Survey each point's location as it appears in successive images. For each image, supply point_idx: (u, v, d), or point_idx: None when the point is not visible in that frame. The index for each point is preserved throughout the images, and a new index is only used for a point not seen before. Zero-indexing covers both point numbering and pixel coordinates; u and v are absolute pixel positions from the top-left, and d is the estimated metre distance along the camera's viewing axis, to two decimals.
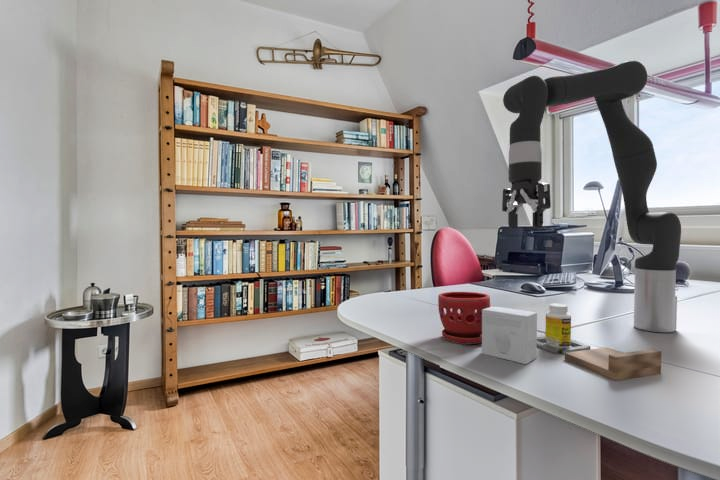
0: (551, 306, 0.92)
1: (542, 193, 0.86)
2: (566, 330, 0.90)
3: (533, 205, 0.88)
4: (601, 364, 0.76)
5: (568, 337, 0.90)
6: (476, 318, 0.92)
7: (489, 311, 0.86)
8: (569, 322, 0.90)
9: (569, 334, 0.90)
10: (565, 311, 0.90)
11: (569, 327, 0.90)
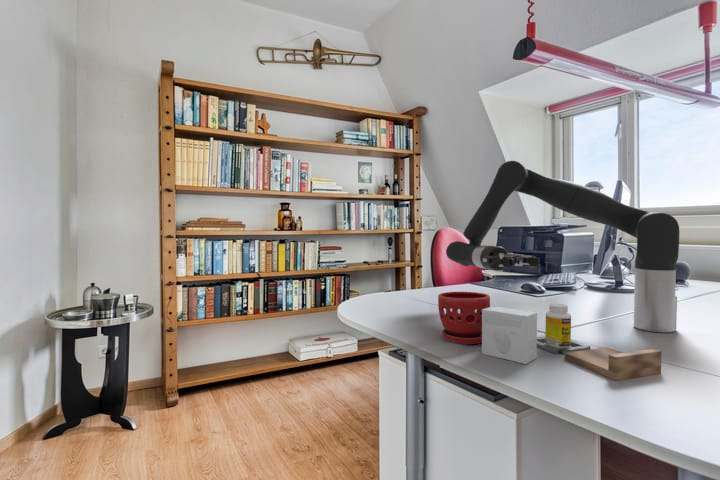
0: (551, 306, 0.92)
1: (486, 263, 1.08)
2: (566, 330, 0.90)
3: None
4: (601, 364, 0.76)
5: (568, 337, 0.90)
6: (476, 318, 0.92)
7: (489, 311, 0.86)
8: (569, 322, 0.90)
9: (569, 334, 0.90)
10: (565, 311, 0.90)
11: (568, 327, 0.90)
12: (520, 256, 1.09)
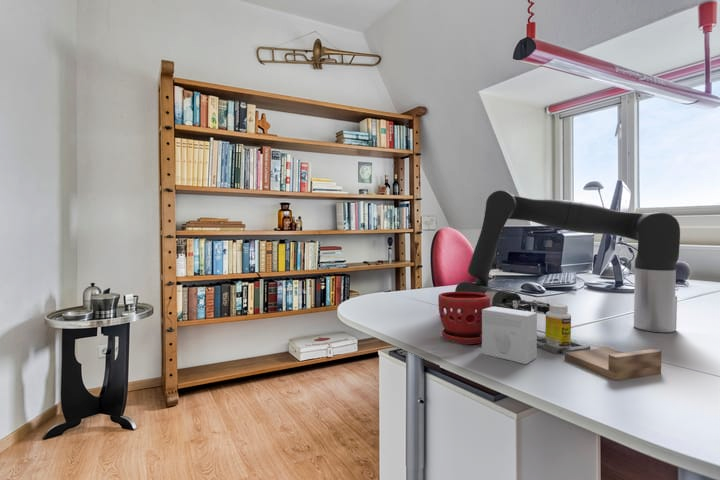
0: (551, 306, 0.92)
1: None
2: (566, 330, 0.90)
3: None
4: (601, 364, 0.76)
5: (568, 337, 0.90)
6: (476, 318, 0.92)
7: (489, 311, 0.86)
8: (569, 322, 0.90)
9: (569, 334, 0.90)
10: (565, 311, 0.90)
11: (568, 327, 0.90)
12: (535, 304, 1.04)
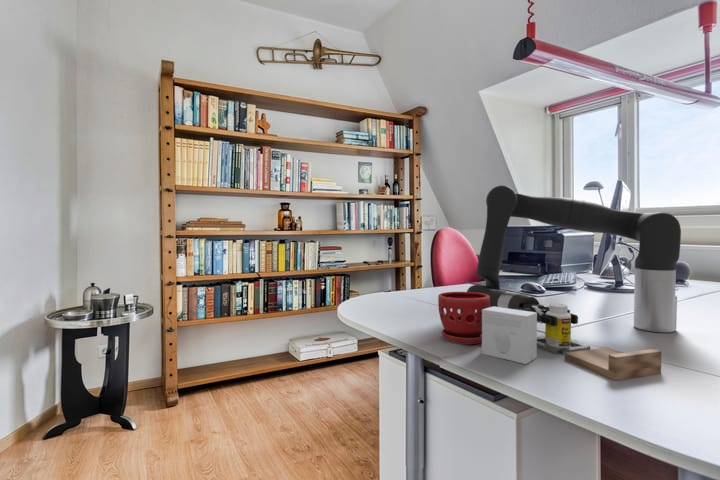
0: (551, 306, 0.92)
1: None
2: (566, 330, 0.90)
3: None
4: (601, 364, 0.76)
5: (568, 337, 0.90)
6: (476, 318, 0.92)
7: (489, 311, 0.86)
8: (569, 322, 0.90)
9: (569, 334, 0.90)
10: (565, 311, 0.90)
11: (568, 326, 0.90)
12: None
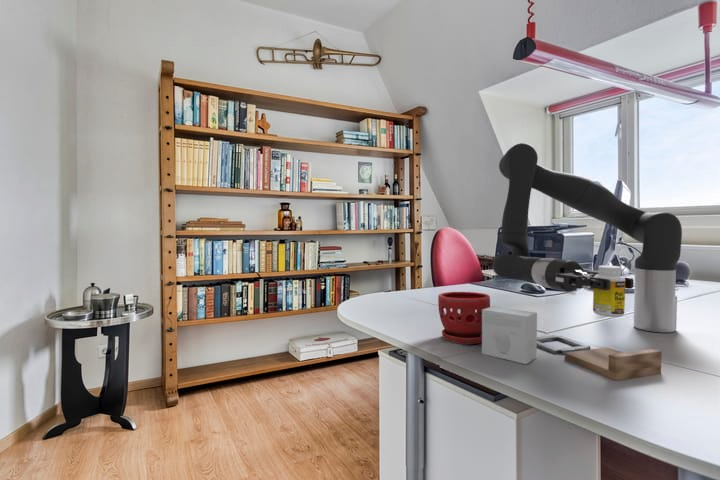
0: (602, 267, 0.78)
1: (564, 284, 0.82)
2: (620, 295, 0.76)
3: (584, 286, 0.81)
4: (601, 364, 0.76)
5: (622, 303, 0.77)
6: (476, 318, 0.92)
7: (489, 311, 0.86)
8: (623, 286, 0.76)
9: (623, 300, 0.77)
10: (619, 273, 0.77)
11: (623, 291, 0.76)
12: None
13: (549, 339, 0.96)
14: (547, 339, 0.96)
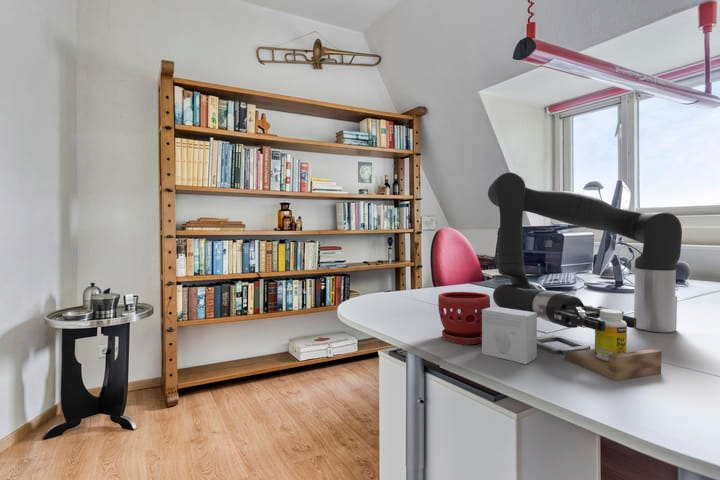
0: (603, 312, 0.78)
1: (561, 322, 0.83)
2: (622, 341, 0.76)
3: None
4: (601, 364, 0.76)
5: (624, 349, 0.77)
6: (476, 318, 0.92)
7: (489, 311, 0.86)
8: (625, 331, 0.77)
9: (625, 345, 0.77)
10: (620, 318, 0.77)
11: (625, 336, 0.77)
12: None
13: (549, 339, 0.96)
14: (547, 339, 0.96)
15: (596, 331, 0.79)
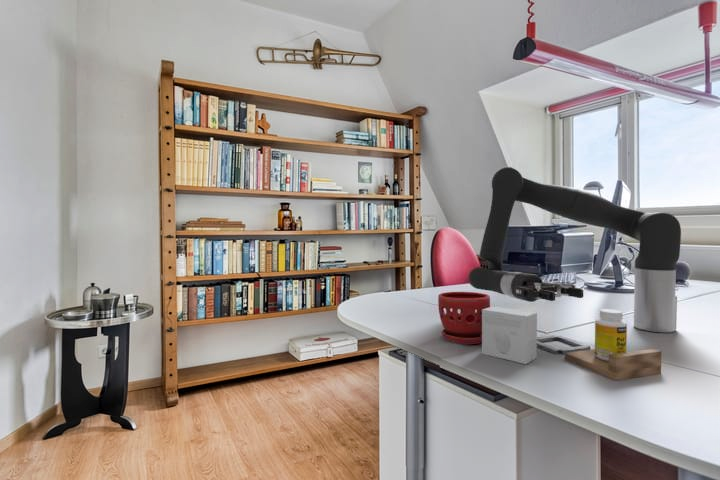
0: (603, 312, 0.78)
1: (521, 296, 0.96)
2: (622, 341, 0.76)
3: None
4: (601, 364, 0.76)
5: (624, 349, 0.77)
6: (476, 318, 0.92)
7: (489, 311, 0.86)
8: (625, 331, 0.77)
9: (625, 345, 0.77)
10: (620, 318, 0.77)
11: (625, 336, 0.77)
12: (558, 286, 0.96)
13: (549, 339, 0.96)
14: (547, 339, 0.96)
15: (596, 331, 0.79)
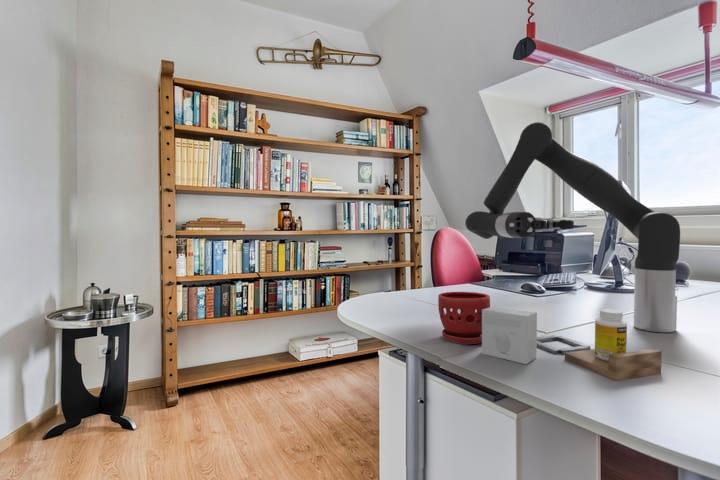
0: (603, 312, 0.78)
1: (514, 228, 1.00)
2: (622, 341, 0.76)
3: (529, 229, 0.98)
4: (601, 364, 0.76)
5: (624, 349, 0.77)
6: (476, 318, 0.92)
7: (489, 311, 0.86)
8: (625, 331, 0.77)
9: (625, 345, 0.77)
10: (620, 318, 0.77)
11: (625, 336, 0.77)
12: (550, 220, 1.00)
13: (549, 339, 0.96)
14: (547, 339, 0.96)
15: (596, 331, 0.79)
